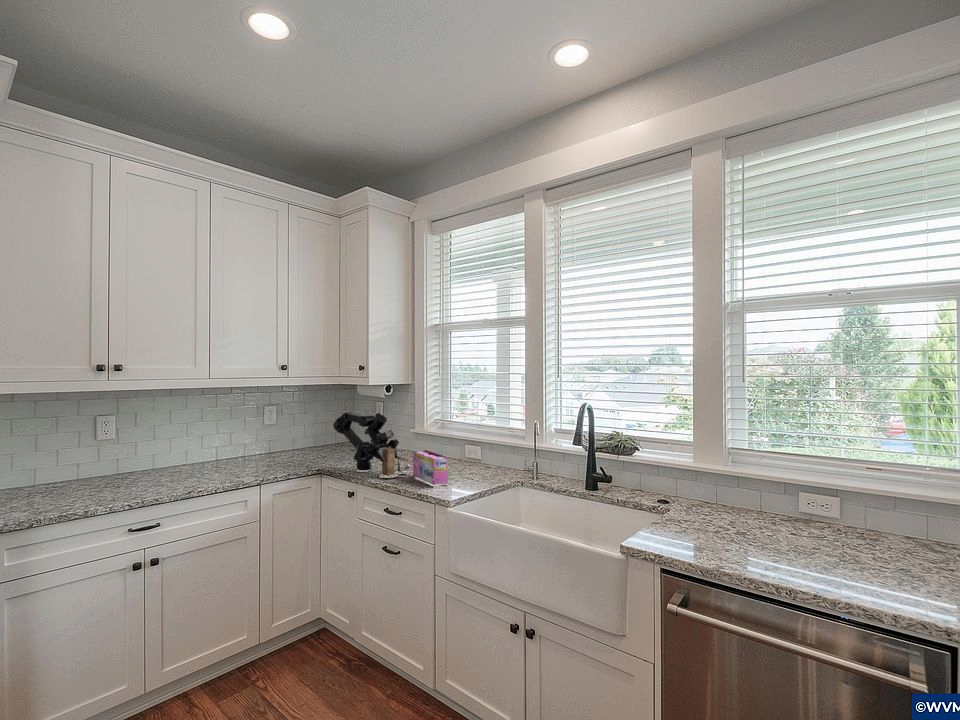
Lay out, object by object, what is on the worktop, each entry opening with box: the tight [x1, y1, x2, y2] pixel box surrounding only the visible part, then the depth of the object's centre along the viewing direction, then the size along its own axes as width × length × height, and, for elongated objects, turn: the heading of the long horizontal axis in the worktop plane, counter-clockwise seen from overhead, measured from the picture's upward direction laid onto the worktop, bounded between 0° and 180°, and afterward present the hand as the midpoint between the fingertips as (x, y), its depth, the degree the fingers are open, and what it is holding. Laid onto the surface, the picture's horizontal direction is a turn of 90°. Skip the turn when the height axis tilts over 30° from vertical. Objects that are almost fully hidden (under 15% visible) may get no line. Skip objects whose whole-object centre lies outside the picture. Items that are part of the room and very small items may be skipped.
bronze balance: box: [397, 455, 413, 471], centre depth 254 cm, size 14×4×10 cm, turn 82°
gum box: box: [412, 449, 449, 485], centre depth 238 cm, size 24×8×14 cm, turn 34°
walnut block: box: [381, 447, 396, 476], centre depth 247 cm, size 4×4×13 cm
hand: (390, 459), depth 246 cm, fingers open, 9 cm apart
